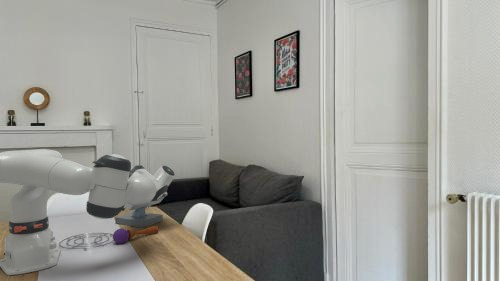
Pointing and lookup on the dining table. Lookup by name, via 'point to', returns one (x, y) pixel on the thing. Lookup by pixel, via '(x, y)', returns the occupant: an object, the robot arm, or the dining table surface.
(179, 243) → the dining table surface
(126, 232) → the purple maraca
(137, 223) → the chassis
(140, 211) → the servo
